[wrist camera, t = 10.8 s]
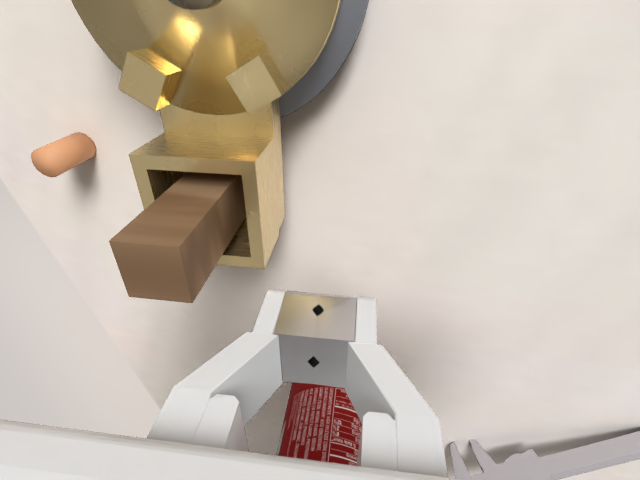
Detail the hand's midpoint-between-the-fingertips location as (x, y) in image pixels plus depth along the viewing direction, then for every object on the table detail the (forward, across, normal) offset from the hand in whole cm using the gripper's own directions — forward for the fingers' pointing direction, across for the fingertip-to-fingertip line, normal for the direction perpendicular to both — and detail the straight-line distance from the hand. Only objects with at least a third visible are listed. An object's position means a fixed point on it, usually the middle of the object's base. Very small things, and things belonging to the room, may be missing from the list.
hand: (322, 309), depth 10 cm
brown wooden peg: (+8, +6, +1) cm, 10 cm away
